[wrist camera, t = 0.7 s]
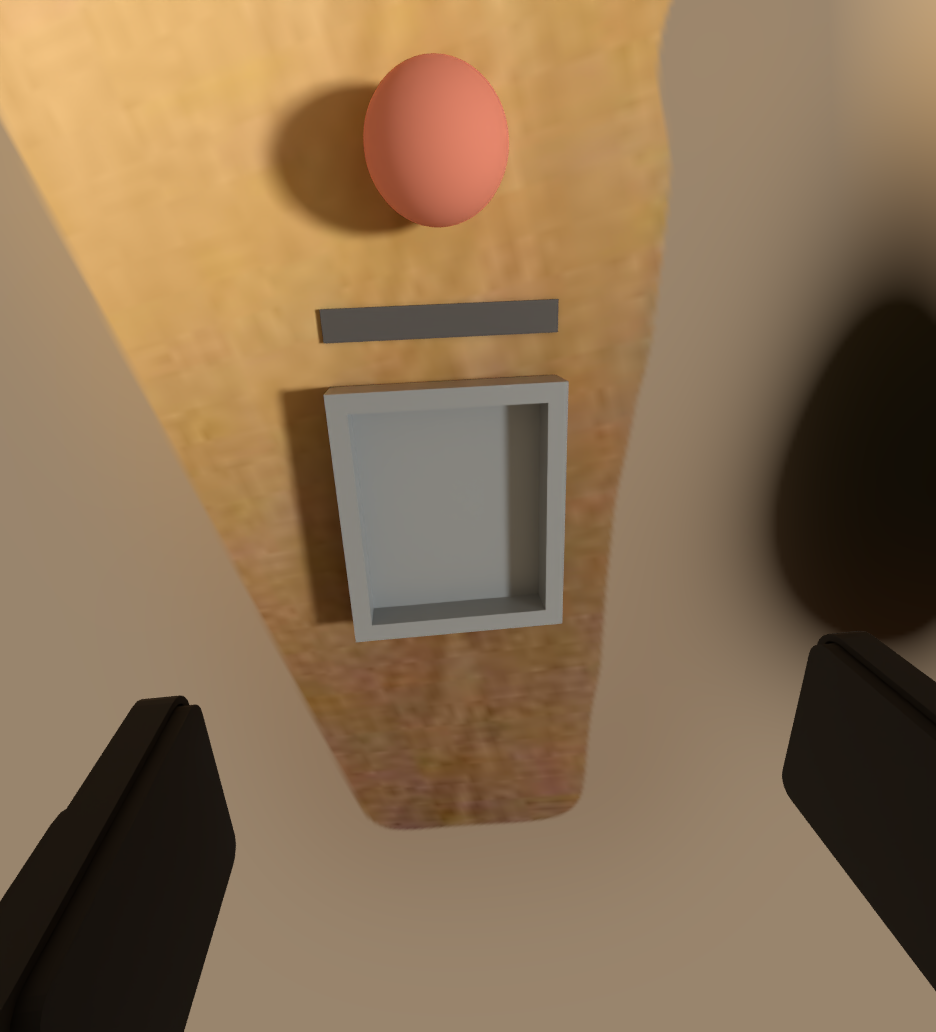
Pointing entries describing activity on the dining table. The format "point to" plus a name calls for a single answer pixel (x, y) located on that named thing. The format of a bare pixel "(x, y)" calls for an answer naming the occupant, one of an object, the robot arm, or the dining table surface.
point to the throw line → (439, 321)
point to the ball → (436, 140)
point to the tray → (451, 503)
